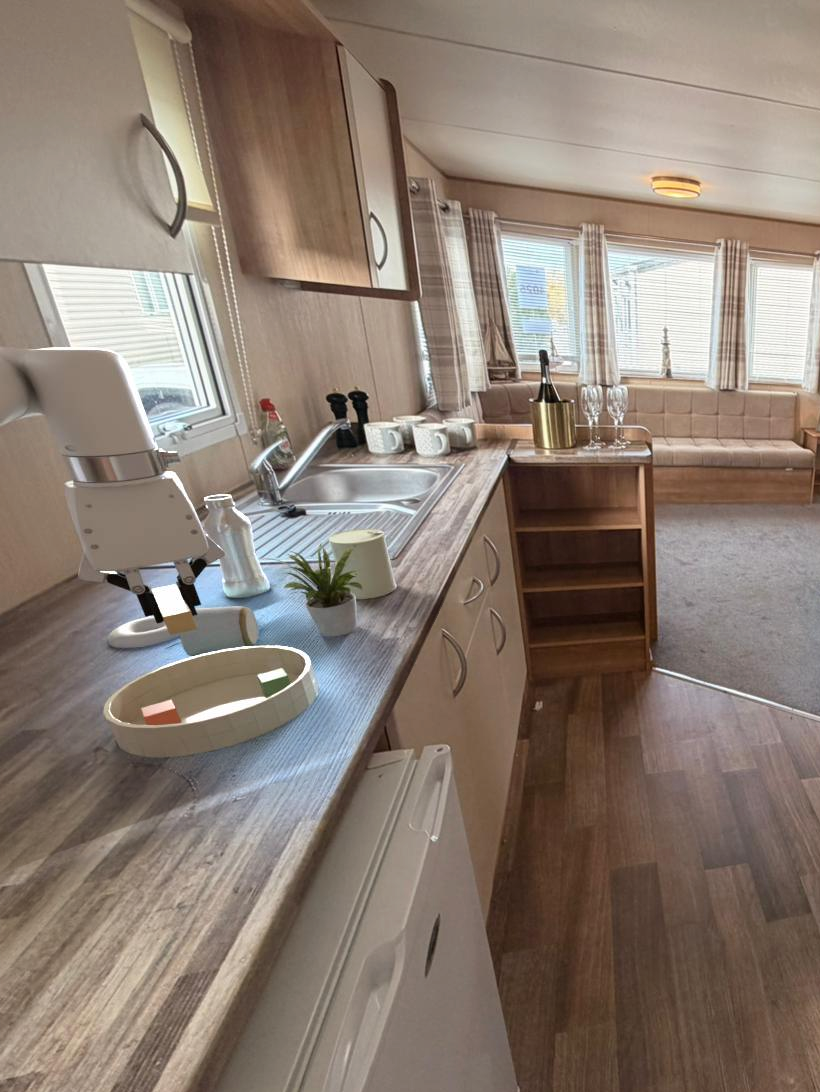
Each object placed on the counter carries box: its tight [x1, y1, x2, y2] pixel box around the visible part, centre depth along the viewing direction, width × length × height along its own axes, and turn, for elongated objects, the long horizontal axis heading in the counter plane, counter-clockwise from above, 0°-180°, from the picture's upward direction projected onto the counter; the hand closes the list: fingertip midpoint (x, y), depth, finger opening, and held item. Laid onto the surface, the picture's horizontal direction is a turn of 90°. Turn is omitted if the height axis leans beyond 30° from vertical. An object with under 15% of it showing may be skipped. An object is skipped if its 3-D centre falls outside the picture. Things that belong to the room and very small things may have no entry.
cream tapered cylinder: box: [328, 528, 398, 600], centre depth 125 cm, size 9×9×12 cm
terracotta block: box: [141, 700, 181, 725], centre depth 83 cm, size 3×3×3 cm
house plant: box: [261, 542, 362, 638], centre depth 107 cm, size 14×14×16 cm
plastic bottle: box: [203, 494, 271, 599], centre depth 117 cm, size 6×7×20 cm
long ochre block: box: [151, 584, 197, 635], centre depth 78 cm, size 11×2×2 cm, turn 48°
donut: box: [107, 615, 181, 649], centre depth 104 cm, size 10×4×10 cm
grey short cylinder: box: [179, 605, 259, 657], centre depth 104 cm, size 11×8×8 cm
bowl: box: [102, 645, 320, 759], centre depth 87 cm, size 21×21×5 cm
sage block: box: [257, 668, 290, 698], centre depth 92 cm, size 3×3×3 cm
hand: (175, 614), depth 78 cm, fingers closed on long ochre block, 2 cm apart
